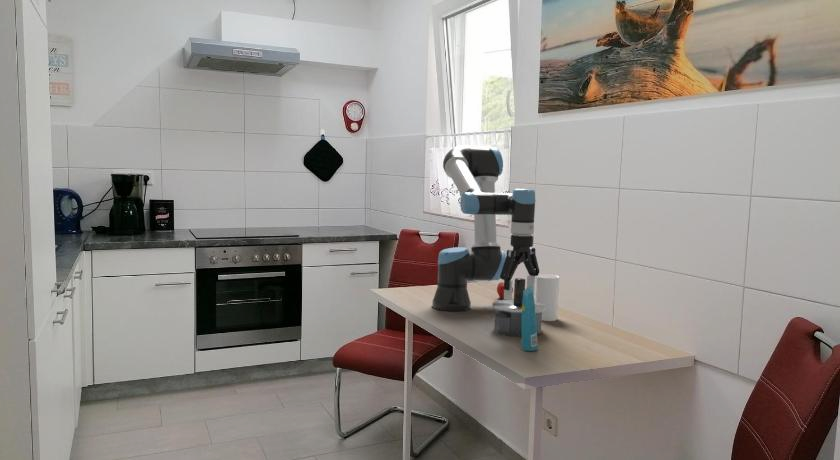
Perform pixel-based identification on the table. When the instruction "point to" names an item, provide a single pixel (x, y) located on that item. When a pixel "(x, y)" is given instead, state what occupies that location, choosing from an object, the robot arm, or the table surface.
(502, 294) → the apple
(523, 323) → the tube
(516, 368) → the table surface
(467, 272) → the robot arm
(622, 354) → the table surface
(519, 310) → the lid
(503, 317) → the pot
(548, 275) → the cup
